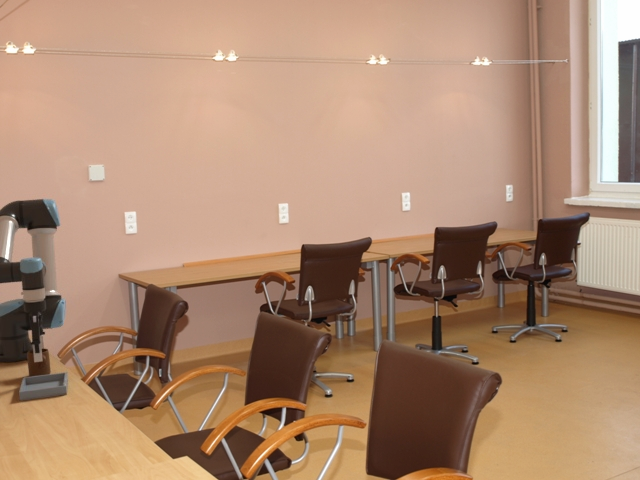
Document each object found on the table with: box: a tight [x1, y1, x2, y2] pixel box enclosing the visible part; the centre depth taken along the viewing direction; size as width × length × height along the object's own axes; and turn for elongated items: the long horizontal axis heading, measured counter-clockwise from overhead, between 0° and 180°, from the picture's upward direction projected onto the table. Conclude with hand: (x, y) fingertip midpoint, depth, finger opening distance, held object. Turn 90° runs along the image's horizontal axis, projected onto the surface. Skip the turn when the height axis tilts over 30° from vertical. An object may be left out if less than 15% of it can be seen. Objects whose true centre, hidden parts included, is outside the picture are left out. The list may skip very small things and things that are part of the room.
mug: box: [26, 348, 52, 377], centre depth 264 cm, size 12×8×9 cm, turn 36°
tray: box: [18, 371, 69, 402], centre depth 249 cm, size 17×15×3 cm
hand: (39, 357), depth 264 cm, fingers open, 13 cm apart
